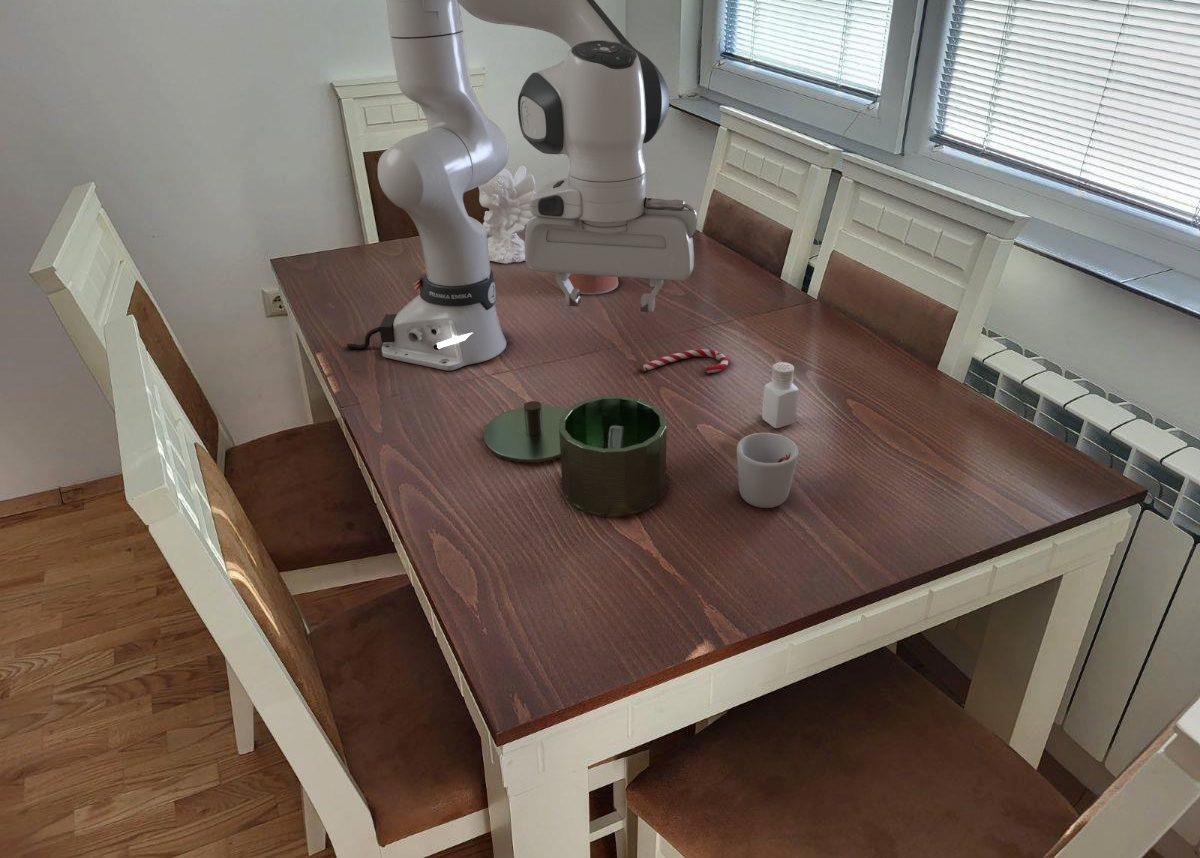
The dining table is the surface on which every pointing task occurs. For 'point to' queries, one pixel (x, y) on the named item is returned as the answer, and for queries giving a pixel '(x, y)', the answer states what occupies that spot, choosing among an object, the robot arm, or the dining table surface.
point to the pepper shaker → (780, 397)
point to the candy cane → (690, 354)
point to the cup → (765, 468)
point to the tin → (613, 456)
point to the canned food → (593, 283)
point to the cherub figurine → (507, 213)
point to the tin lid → (525, 433)
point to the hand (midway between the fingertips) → (610, 307)
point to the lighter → (615, 436)
